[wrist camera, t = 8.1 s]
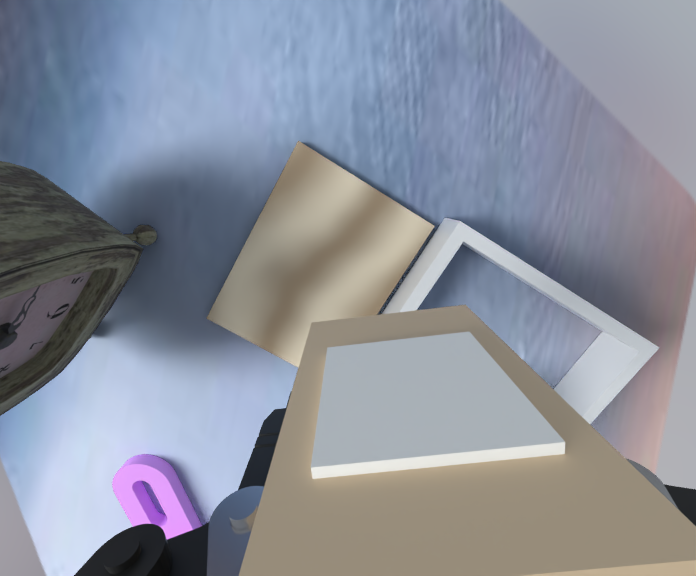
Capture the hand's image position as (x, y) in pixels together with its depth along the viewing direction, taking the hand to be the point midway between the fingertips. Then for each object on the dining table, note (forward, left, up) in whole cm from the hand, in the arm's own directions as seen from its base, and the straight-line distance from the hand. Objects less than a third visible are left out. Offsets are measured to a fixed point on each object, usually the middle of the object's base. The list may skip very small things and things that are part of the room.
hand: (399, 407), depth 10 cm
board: (+4, +2, -19) cm, 19 cm away
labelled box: (0, 0, -1) cm, 1 cm away
